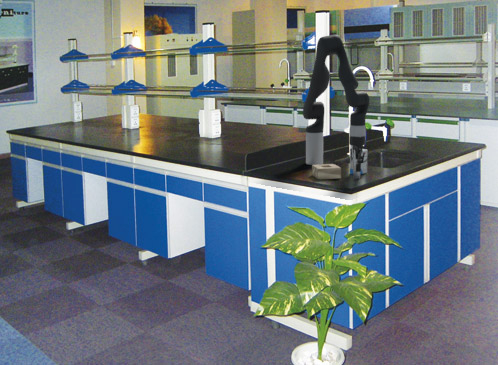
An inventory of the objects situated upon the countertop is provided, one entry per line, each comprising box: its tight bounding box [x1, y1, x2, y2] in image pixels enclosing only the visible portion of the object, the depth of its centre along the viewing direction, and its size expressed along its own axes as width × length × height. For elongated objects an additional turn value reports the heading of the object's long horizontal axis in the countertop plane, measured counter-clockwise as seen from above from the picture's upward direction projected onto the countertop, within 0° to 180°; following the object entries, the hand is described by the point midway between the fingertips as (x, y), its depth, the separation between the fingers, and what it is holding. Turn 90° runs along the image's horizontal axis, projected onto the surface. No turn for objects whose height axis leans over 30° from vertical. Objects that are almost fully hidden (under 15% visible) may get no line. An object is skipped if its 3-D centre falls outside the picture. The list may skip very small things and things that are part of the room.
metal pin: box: [352, 155, 361, 180], centre depth 287 cm, size 3×3×12 cm
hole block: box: [311, 163, 342, 180], centre depth 293 cm, size 11×11×5 cm
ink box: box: [349, 144, 369, 175], centre depth 298 cm, size 9×5×15 cm, turn 136°
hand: (356, 170), depth 287 cm, fingers closed on metal pin, 3 cm apart
